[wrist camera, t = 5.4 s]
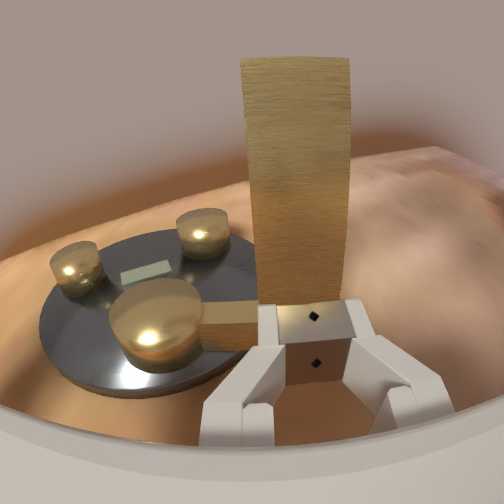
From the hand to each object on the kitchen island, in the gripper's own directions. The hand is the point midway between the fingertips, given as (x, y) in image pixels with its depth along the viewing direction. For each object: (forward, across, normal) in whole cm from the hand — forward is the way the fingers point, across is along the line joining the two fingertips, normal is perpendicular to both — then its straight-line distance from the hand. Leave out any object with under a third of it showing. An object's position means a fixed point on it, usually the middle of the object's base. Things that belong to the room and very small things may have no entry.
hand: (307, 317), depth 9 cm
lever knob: (+7, +4, +8) cm, 12 cm away
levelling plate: (+14, +11, +10) cm, 21 cm away
